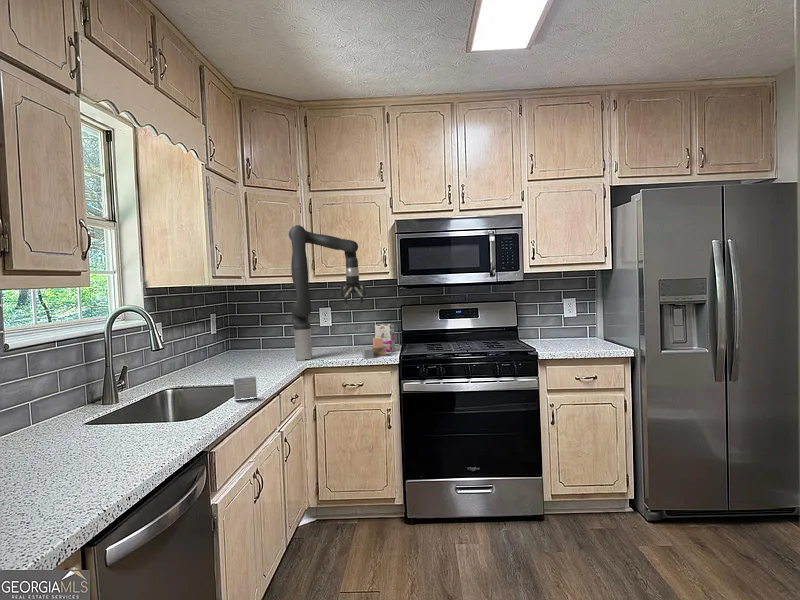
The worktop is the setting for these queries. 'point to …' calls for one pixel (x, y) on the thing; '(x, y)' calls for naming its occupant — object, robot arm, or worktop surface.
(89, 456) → the worktop surface
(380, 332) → the candy bar box
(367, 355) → the slate cube
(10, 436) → the worktop surface
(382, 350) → the walnut block
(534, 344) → the worktop surface
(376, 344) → the terracotta cube
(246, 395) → the medicine box
